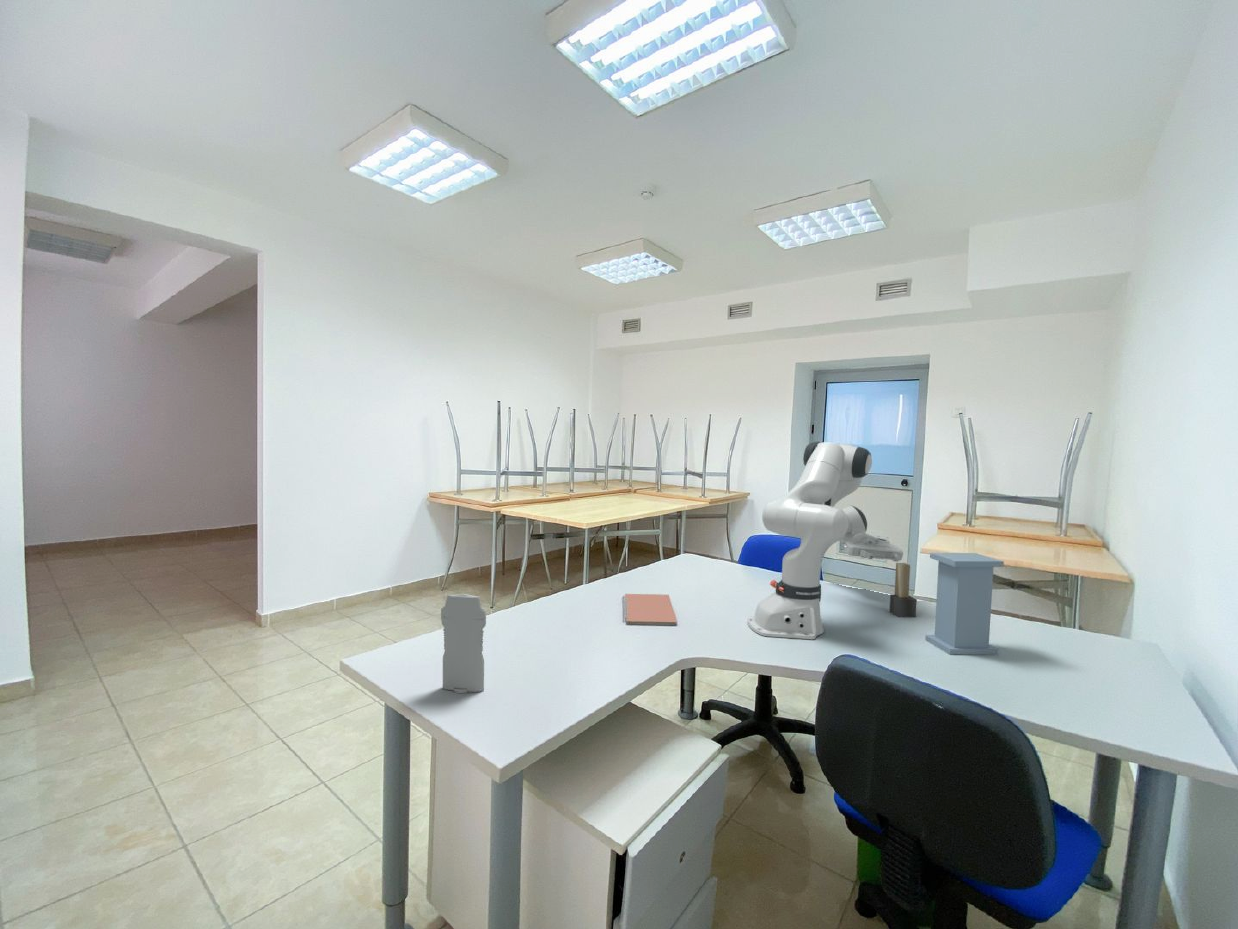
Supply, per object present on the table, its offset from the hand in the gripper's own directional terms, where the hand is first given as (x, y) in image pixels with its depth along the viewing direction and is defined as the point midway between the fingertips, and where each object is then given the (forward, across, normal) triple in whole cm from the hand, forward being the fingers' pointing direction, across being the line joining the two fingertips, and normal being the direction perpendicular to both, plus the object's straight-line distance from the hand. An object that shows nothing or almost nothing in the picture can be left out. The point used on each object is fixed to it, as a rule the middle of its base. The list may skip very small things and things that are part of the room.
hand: (884, 558), depth 180 cm
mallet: (+9, +2, +7) cm, 12 cm away
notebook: (+12, -83, +23) cm, 87 cm away
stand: (+39, +4, +12) cm, 41 cm away
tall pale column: (+66, -130, +21) cm, 147 cm away
